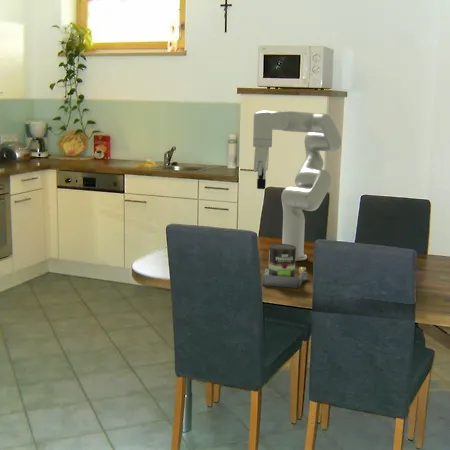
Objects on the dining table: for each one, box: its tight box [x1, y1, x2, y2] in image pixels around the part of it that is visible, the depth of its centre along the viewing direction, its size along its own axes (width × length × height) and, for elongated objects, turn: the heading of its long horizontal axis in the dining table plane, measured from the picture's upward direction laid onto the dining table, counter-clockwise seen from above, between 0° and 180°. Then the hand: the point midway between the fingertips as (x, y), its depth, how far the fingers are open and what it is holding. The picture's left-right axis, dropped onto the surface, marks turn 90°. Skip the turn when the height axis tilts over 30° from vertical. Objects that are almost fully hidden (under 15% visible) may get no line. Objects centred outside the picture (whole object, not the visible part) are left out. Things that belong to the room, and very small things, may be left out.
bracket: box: [261, 268, 308, 289], centre depth 265 cm, size 13×17×4 cm
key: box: [298, 266, 307, 275], centre depth 280 cm, size 7×3×1 cm, turn 166°
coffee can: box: [268, 243, 296, 277], centre depth 263 cm, size 10×10×14 cm
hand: (261, 188), depth 278 cm, fingers closed
